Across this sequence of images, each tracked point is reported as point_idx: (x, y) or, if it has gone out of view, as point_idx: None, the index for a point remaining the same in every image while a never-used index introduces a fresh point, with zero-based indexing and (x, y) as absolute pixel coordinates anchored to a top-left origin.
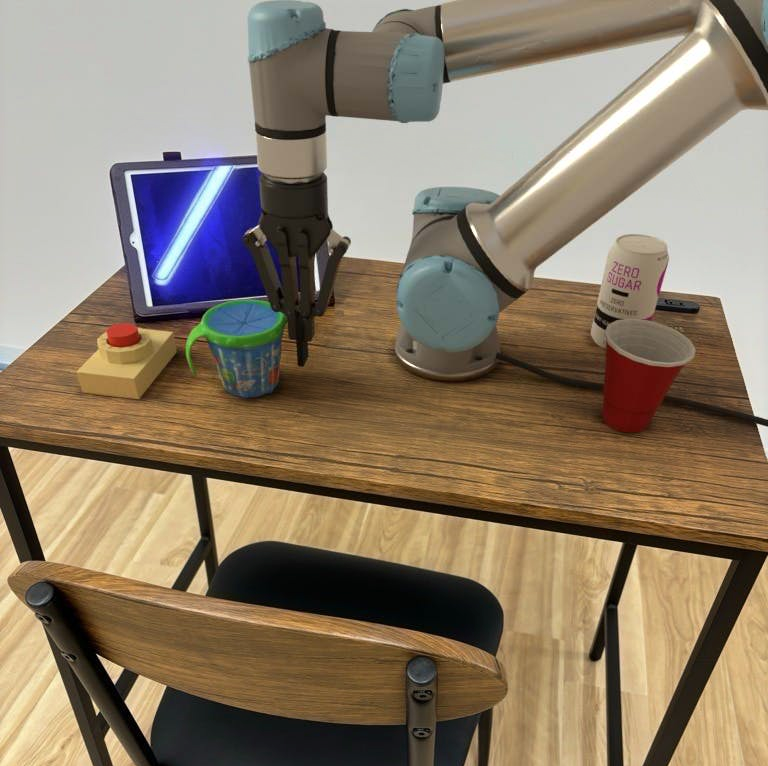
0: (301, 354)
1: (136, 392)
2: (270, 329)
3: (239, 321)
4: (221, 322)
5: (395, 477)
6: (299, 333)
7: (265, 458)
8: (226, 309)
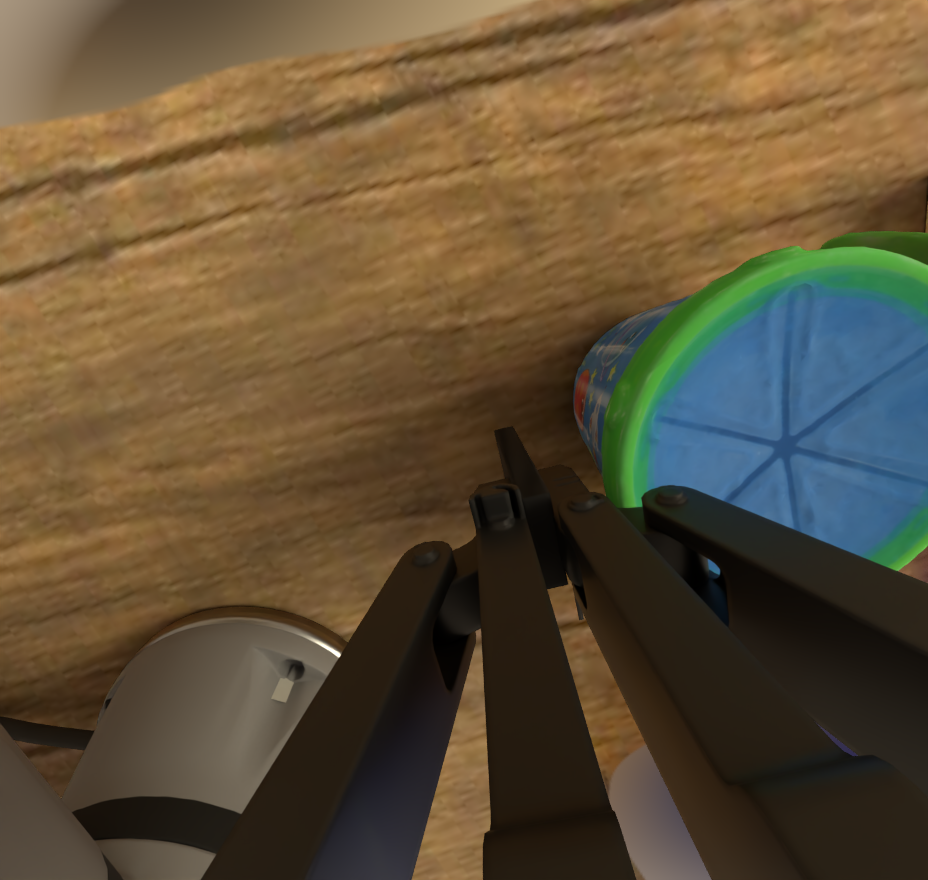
0: (502, 442)
1: None
2: (640, 407)
3: (810, 451)
4: (888, 394)
5: (49, 145)
6: (519, 473)
7: (433, 55)
8: (904, 499)
